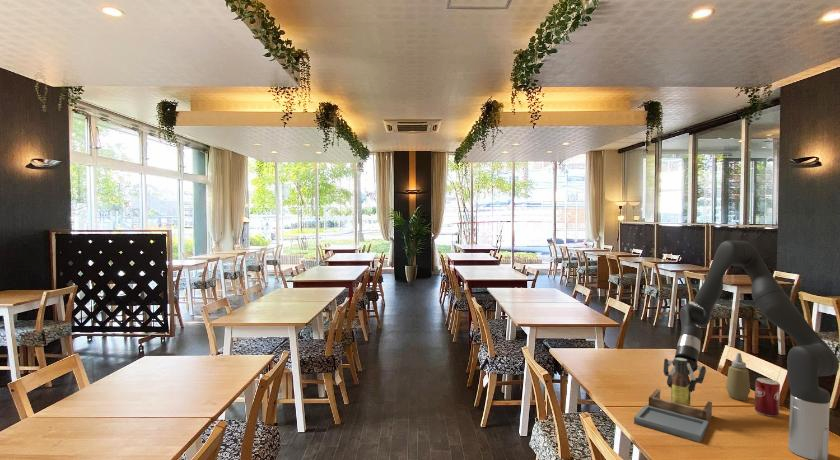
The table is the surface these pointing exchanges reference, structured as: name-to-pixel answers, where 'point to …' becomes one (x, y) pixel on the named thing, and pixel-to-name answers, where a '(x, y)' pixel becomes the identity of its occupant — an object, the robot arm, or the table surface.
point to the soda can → (767, 397)
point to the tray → (672, 423)
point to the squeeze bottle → (738, 379)
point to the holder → (680, 407)
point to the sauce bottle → (680, 383)
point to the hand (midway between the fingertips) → (680, 388)
